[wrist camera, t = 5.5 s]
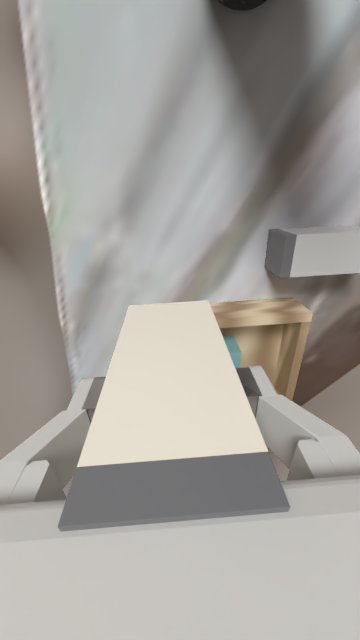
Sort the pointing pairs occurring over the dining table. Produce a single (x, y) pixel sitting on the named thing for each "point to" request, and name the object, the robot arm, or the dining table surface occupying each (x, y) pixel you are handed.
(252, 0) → the travel mug
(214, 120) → the dining table surface
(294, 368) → the birch crate
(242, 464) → the ivory connector
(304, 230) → the grey plug
